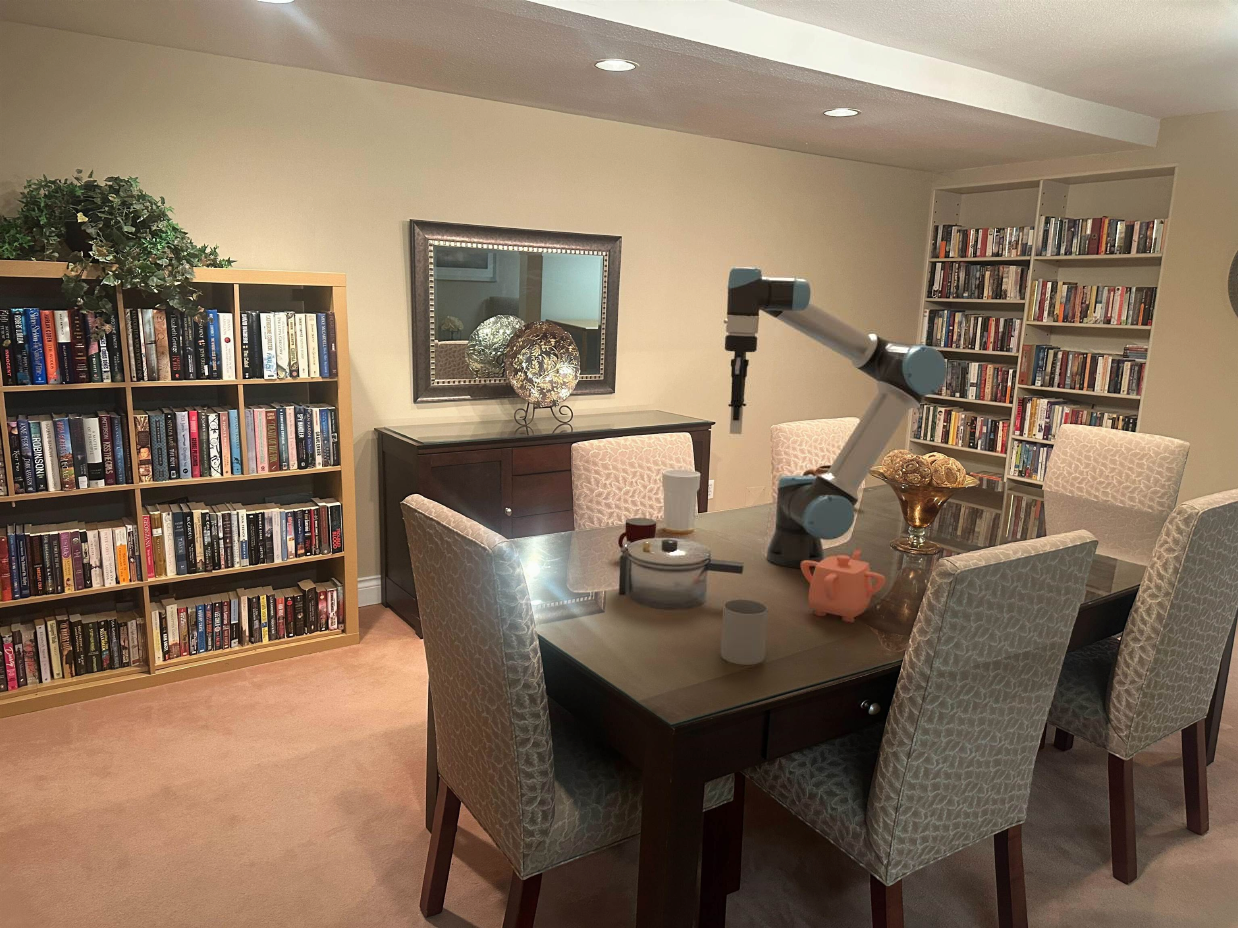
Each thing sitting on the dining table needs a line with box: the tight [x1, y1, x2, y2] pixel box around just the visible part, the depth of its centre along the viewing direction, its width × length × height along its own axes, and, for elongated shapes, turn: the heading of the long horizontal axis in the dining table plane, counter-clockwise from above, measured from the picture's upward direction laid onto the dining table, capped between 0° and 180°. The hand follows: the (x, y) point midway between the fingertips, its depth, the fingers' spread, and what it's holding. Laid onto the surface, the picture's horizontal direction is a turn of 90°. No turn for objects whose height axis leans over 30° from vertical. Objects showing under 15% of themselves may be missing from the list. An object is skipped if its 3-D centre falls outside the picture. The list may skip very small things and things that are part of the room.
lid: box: [620, 537, 712, 566], centre depth 201 cm, size 20×19×3 cm
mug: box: [617, 517, 657, 551], centre depth 230 cm, size 10×8×10 cm
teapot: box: [800, 548, 887, 623], centre depth 195 cm, size 17×16×13 cm
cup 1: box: [661, 468, 701, 534], centre depth 261 cm, size 11×11×17 cm
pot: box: [618, 551, 745, 611], centre depth 201 cm, size 28×19×10 cm
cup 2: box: [720, 598, 769, 666], centre depth 169 cm, size 8×8×10 cm
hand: (735, 433), depth 211 cm, fingers closed
